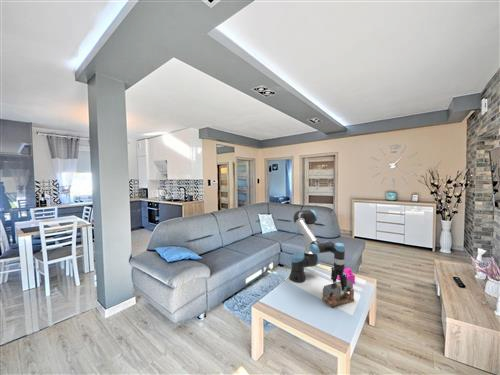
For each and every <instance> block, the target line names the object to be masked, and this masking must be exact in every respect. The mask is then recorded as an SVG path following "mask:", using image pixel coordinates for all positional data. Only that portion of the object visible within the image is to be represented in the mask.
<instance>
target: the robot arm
mask: <svg viewBox="0 0 500 375" xmlns="http://www.w3.org/2000/svg"><path fill="white" fill-rule="evenodd" d="M292 219H293V220H292V221H293V223H294V225H295V226H296V227H298V228H299V231H300V232H301V233H302V235H303V237H304V246H305V250H304V251H303V252H296V253H293V254H292V255H291V264H290V266H291V268H290V269H291V270H290V273H289V276H288V277H289V280H290V281H291V282H295V283H301V284H302V283H304V282H306V279H307V278H306V273H305V268H311V267H315V266H318V265H319V263H320V256H319V254H323V253H324V254H325V253H332V254H333V267H331V276H330V279H331V280H332V284H333V283H336V282H338V280H337V276H339V277H340V280H339V282H341V286H340V294H341V295H342V294H344V287H347V274H345V273H344V269H345V260H346V259H345V258H346V257H345V256H346V245H344V243H342V242H335V243H334V242H332V241H329V240H326V241H324V242H321V243H320V241H319V240H318V239H317V237H316V236H315V230H314V229H315V228H314V226H315V224H316V222H318V214H317V212H316V211H315V210H314V209H303V210H297V211H295V213H294V214H293V217H292Z"/></svg>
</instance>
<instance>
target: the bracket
mask: <svg viewBox="0 0 500 375" xmlns="http://www.w3.org/2000/svg"><path fill="white" fill-rule="evenodd" d="M344 273H345V274H347V280H348V281H350V282H352V283H353V285H354V284H355V283H356V282H355V281H356V274H354V273H352V268H350V267H344ZM336 280H337V281H340V277H339V275H338V276H337V279H336Z"/></svg>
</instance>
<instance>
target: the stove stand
mask: <svg viewBox="0 0 500 375" xmlns="http://www.w3.org/2000/svg"><path fill="white" fill-rule="evenodd" d="M354 296H355V289H354V288H353V289H350V292H346V293H344V294H342V295H341V294H340V295H336V294H333V295H332V297H330V298H329V297H328V296H327V295H325V294H324V287H322V299H321V300H322V301H323V302H324V303H325V304H327V306H329V307H331V308H332V309H335V308H339V307H340V306H343V305H346V304H349V303H353V302H355V298H354Z"/></svg>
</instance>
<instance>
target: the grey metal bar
mask: <svg viewBox="0 0 500 375" xmlns="http://www.w3.org/2000/svg"><path fill="white" fill-rule="evenodd" d="M340 286H341V282H340V281H337V282H336V283H333V282H332V283H331V284H326V285H324V286H323V288H324V294H325V295H327V296H328V297H329V298H330V297H332V295H333V294H336V295H340ZM350 289H354V284H353V283H352V282H350V281H348V280H347V287H344V293H346V292H347V293H350Z"/></svg>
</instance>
